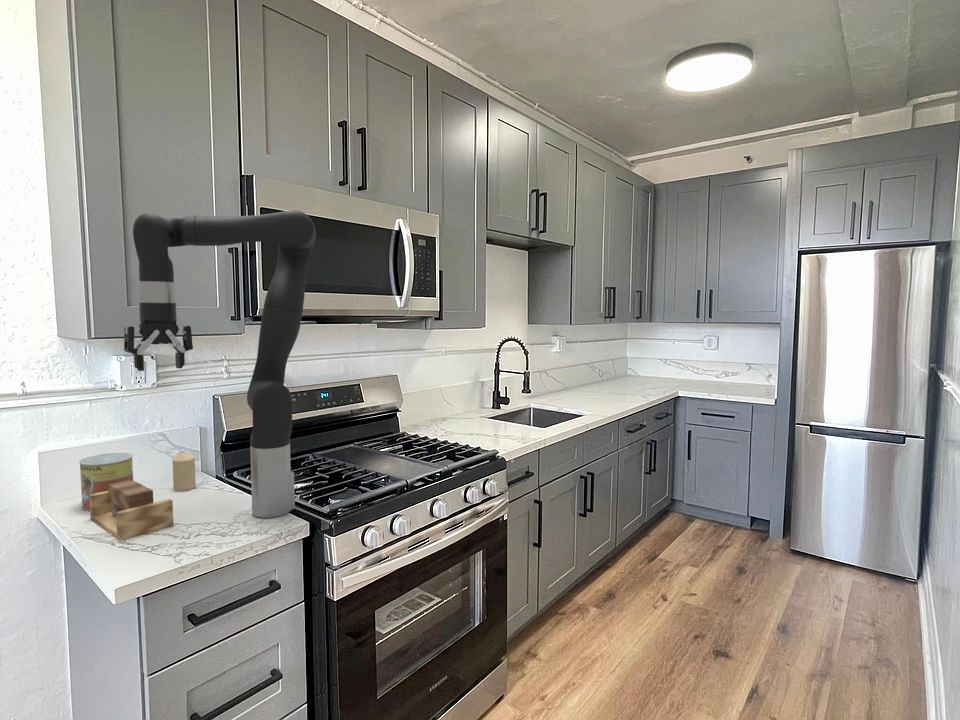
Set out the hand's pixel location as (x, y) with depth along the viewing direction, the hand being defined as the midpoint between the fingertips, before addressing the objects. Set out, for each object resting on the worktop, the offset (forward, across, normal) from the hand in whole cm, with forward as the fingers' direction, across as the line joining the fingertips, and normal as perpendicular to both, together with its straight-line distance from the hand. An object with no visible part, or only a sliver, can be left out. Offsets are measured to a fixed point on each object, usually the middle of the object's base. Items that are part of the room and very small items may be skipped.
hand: (160, 369), depth 130 cm
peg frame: (+36, -7, +2) cm, 37 cm away
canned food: (+36, -6, +20) cm, 42 cm away
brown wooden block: (+32, -7, +2) cm, 32 cm away
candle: (+36, +12, +18) cm, 42 cm away
